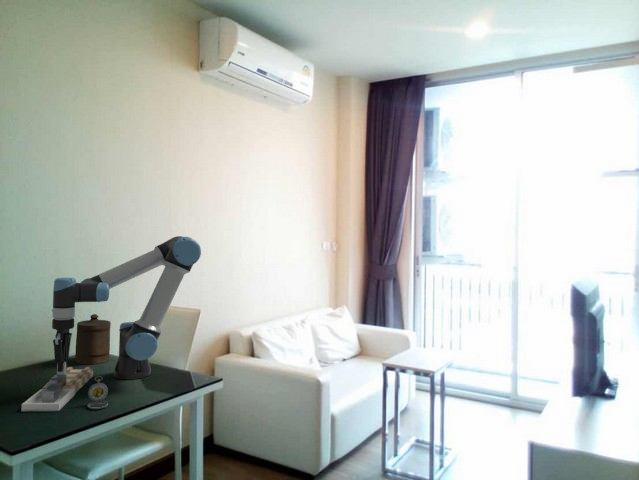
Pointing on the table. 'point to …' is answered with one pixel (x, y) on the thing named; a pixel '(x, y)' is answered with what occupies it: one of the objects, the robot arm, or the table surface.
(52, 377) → the gray cube
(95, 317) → the wooden container
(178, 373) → the table surface
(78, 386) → the slot board
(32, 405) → the tray
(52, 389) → the grey cubic block
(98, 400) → the pocket watch
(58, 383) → the grey square block
